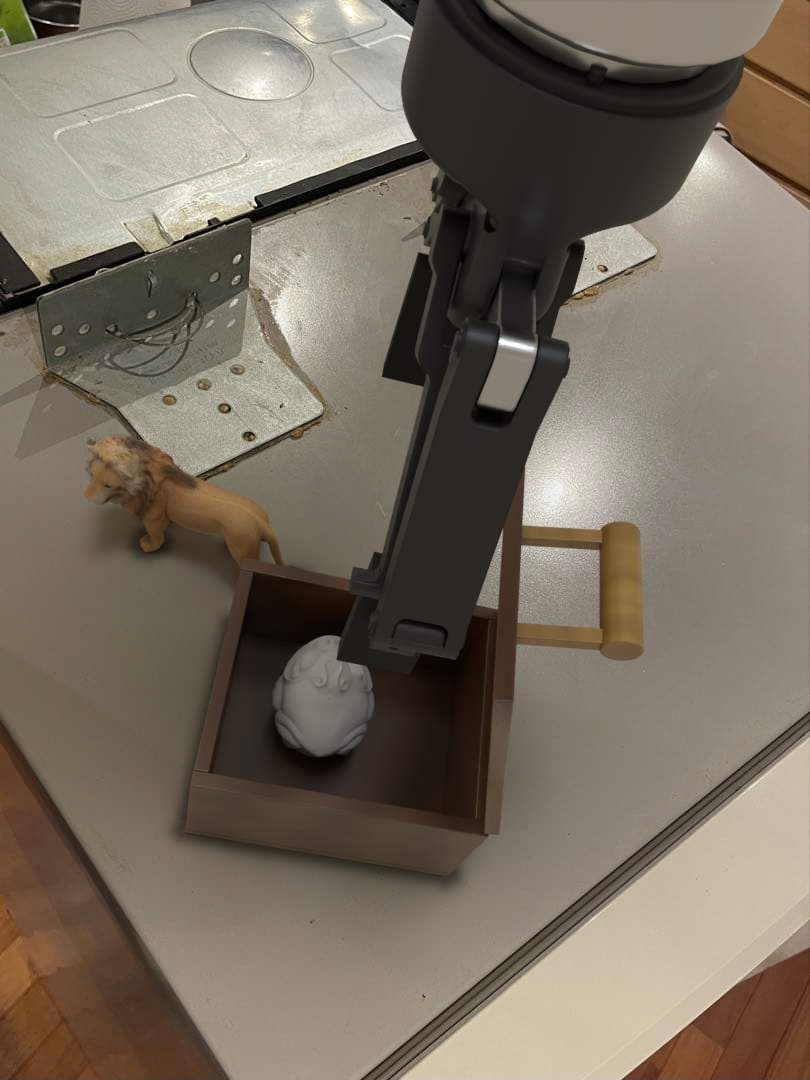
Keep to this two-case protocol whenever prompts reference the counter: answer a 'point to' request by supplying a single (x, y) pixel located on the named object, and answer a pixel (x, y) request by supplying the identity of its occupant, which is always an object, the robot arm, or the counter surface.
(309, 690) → the frog figurine
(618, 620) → the chest lid
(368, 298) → the counter surface
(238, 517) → the lion figurine
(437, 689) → the chest
